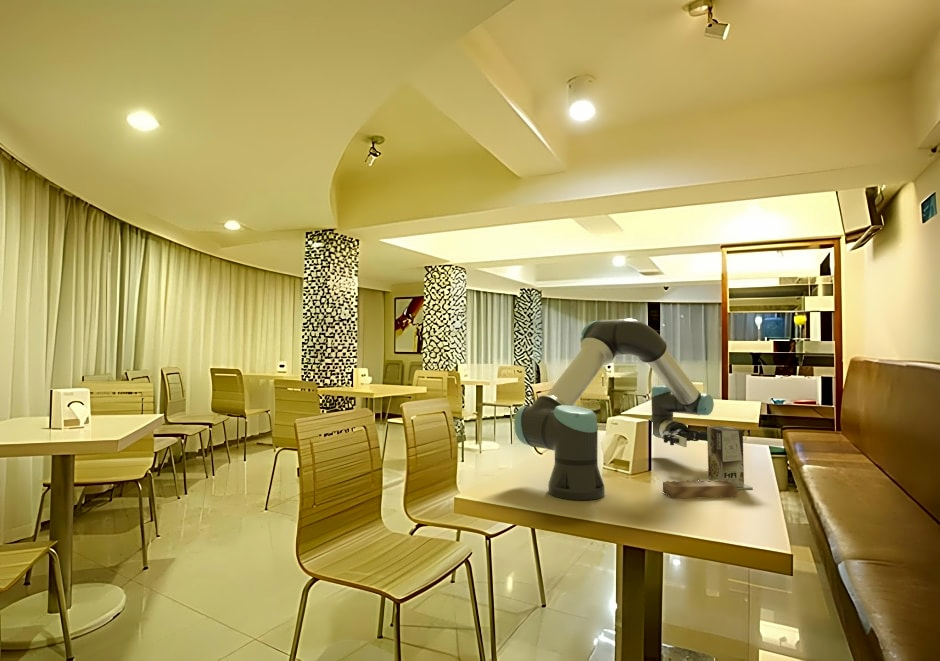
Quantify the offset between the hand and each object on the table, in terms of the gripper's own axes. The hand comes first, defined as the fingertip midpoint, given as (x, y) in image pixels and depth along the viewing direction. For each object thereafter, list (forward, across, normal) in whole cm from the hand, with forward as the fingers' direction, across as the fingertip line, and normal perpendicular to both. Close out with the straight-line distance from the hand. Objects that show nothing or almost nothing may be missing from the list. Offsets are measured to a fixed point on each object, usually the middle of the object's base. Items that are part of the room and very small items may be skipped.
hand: (706, 442), depth 162 cm
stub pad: (+10, 0, -11) cm, 14 cm away
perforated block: (+20, +13, -11) cm, 26 cm away
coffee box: (+10, 0, -10) cm, 15 cm away
